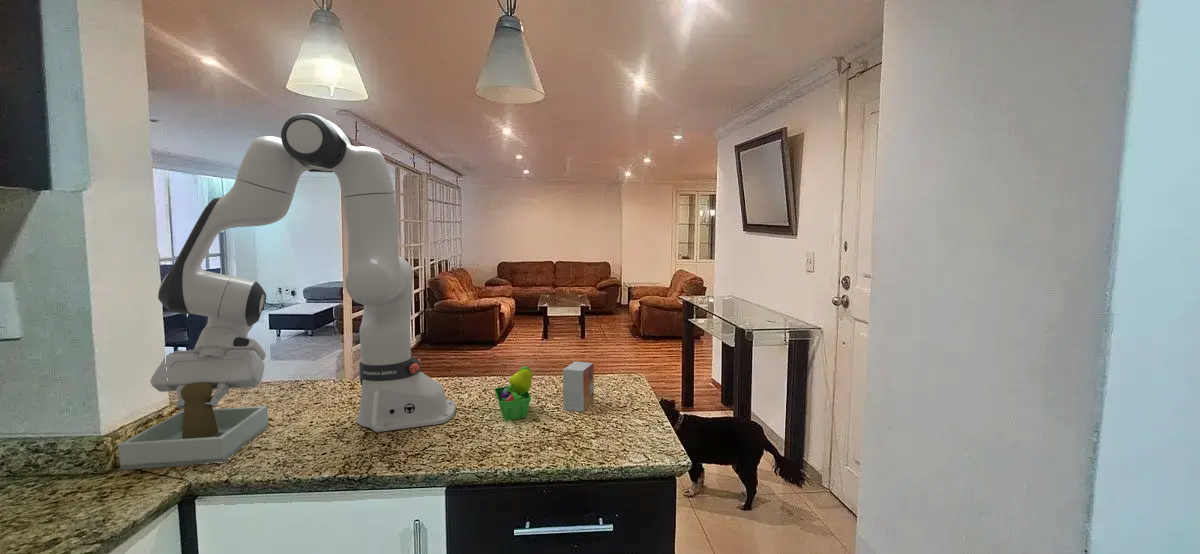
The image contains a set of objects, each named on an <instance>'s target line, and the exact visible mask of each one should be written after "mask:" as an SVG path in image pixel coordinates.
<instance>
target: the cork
mask: <svg viewBox="0 0 1200 554" xmlns="http://www.w3.org/2000/svg"><path fill="white" fill-rule="evenodd" d="M212 395H213V389H212V386H211V385H210V384H209V383H207V382H196V383H192V384H188V385H186V386H184V387H183V388H182V390H181V397H182V399H183V400H184V401H185V407H184V410H183V411H184V420H183V432H182V439H191V438H207V437H210V436H213V435H215V434H217V433H218V427H217V424H216V420H215V416H214V412H213V409H214V407H208V406H206V405H205V402H206V401H207V398H208V397H209V396H212Z"/></svg>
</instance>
